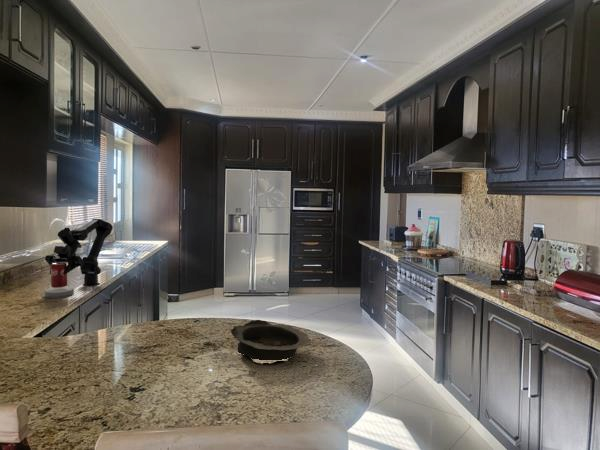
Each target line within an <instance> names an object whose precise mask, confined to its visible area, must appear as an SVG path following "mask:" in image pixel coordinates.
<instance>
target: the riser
mask: <svg viewBox="0 0 600 450" xmlns="http://www.w3.org/2000/svg"><path fill="white" fill-rule="evenodd" d="M74 292H75V290H74V288H73V287H71V286H66V287H64V288H52V287H51V288H50V287H49V288H46V289H45V290H44V298H46V299H59V298H60V299H61V298H68V297H71V296H74V294H75V293H74Z"/></svg>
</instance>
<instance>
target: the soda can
mask: <svg viewBox="0 0 600 450" xmlns="http://www.w3.org/2000/svg"><path fill="white" fill-rule="evenodd" d="M67 265H68V263H64V262H58V263H52V264H51V265H49V271H50V270H51V275H50V287H51V288H64V287H68V273H67V274H66V275H64V274H63V273H64V271H65V269H66V267H67Z"/></svg>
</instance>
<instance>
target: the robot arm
mask: <svg viewBox="0 0 600 450" xmlns="http://www.w3.org/2000/svg"><path fill="white" fill-rule="evenodd" d="M113 228H114V227H113V225H112V224H111V223H110V222H109V221H105V220H103V219H101V218H92V219H91V220H90V221H89V222H87V223H86V224H85V225H83V226H81V227H78V228H74V229H70V227H64V228H63V229H61V230H59V231H58V233H57V237H58V239H60V241H61V242H62V243H63V244H64V246H63V245H62V246H61V245H60V246H59V245H55V246H54V248H53V253H54V254H57V257H56V256H55V255H54V254H51V255H50V254H48V255H45V257H44V260H45V262H46V263H47V264H48V265H49V266H50V265H51V264H52V263H59V262H64V263H66V264H67V267H66V269H65V271H64V273H63V274H64V275H66V274H67V275H68V273H70V272H71V271H73V270H75V269H76V268H80V272H81V275H84V278H83V283H82V285H83V286H88V287H89V286H90V287H92V286H97V285H100V284H101V283H100V282H99V275H100V274H101V271H102V270H101V267H100V266H99V260H98V258H99V255H100V252H101V250H102V249H103V248H102V247H103V244H104V242H105V240H106V238H107V237H108V236H110V235H111V233H112V231H113V230H114V229H113ZM93 231H95V233H96V236H95V238H94V240H93V243H92V245H91V248H90V251H89V253H88V256H83V257H81V256H80V255H77V253H76V252H77V251H78V249H79V248H80V249H81V248H82V243H81V241H85V240H86V239H87V238H88V236H89V234H90V233H92V232H93ZM49 275H50V276H51V270H50V269H49Z"/></svg>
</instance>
